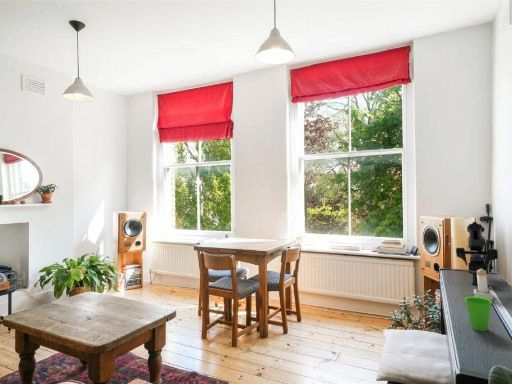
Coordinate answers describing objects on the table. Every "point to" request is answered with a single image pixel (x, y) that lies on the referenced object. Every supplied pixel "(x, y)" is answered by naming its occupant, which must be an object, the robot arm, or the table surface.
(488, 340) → the table surface
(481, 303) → the cup
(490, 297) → the frame
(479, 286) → the cell
